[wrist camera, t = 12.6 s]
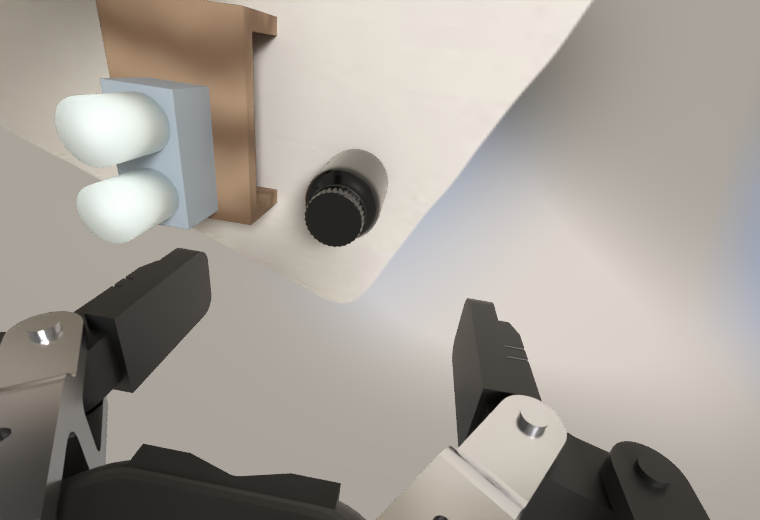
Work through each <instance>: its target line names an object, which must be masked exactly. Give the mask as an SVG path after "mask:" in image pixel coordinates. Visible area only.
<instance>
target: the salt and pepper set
mask: <svg viewBox="0 0 760 520" xmlns="http://www.w3.org/2000/svg"><path fill="white" fill-rule="evenodd" d="M100 83H101V88H102V94H89V95H76V96H69V97H66V98H64V99H63V100H62V101H61V102H60V103H59V104H58V106H57V108H56V112H55V125H56V129H57V132H58V135H59V137H60V139H61V141H62V143H63V144H64V146H65V147H66V148H67V149H68V151H69V152H70V153H71V154H72V155H73V156H75V157H76V158H77V159H78V160H80V161H81V162H83V163H85V164H87V165H89V166H92V167H97V168H105V167H109V166H112V165H116V164H117V168H118V173H119V175H118V176H115V177H112V178H109V179H106V180H103V181H100V182H98V183H95V184H92V185H89V186H86V187H85V188H83V189H82V190H81V191H80V193H79V194H78V197H77V209H78V213H79V216H80V218H81V219H82V221H83V223H84V224H85V226H86V227H87V228H88V229H89V230H90V231H91V232H92V233H93V234H95V235H96V236H97V237H99V238H101V239H103V240H105V241H107V242H110V243H116V244H117V243H118V244H120V243H125V242H128V241H130V240H132V239H133V238H135V237H137V236H138V235H140V234H142V233H144V232H145V231H147V230H149V229H151V228H153V227H154V226H156V225H158V224H159V225H165V226H170V227H176V228H182V229H188V230H189V229H191V228H192V227H194V226H195V225H197V224H198V223H200V222H201V221H203V220H204V219H206V218H207V217H209V216H210V215H212V214H213V213H215V212H216V211H218V199H217V186H216V173H215V160H214V148H213V135H212V122H211V109H210V96H209V86H202V85H195V84H189V83H182V82H175V81H169V80H162V79H155V78H149V77H133V78H100Z"/></svg>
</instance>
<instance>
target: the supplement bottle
mask: <svg viewBox="0 0 760 520" xmlns="http://www.w3.org/2000/svg"><path fill="white" fill-rule="evenodd" d="M387 187H388V178H387V173H386V170H385V168H384V166H383V164H382V163H381V162H380V161H379V159H378V158H376V157H375V156H374V155H372V154H371V153H369V152H367V151H364V150H359V149H351V150H346V151H343V152H341V153H339V154H338V155H336V156H335V157H334V158H333V159H332V160H331V161H330V162H329V163H328V164H327V165H326V166H325V167H324V168H323V169H322V170H321V171H320V172H319V173H318V174H317V175H316V176H315V177H314V178H313V180H312V181H311V183H310V184H309V186H308V188H307V191H306V196H305V206H306V212H305V216H306V217H305V221H306V225H307V227H308V230H309V231H310V233H311V235H313V236H314V238H315V239H317V240H318V241H319V242H322V243H323V244H325V245H328V246H333V247H336V246H339V247H341V246H342V245H343V246H345V245H347V244H350V243H351V242H352V241H354V240H355V239H357V238H359V237H362V236H363V235H365V234H366V233H368V232H369V231H370V230H371V229H372V228H373V227H374V225H375V224H376V222H377V220H378V217H379V215H380V211H381V208H382V205H383V202H384V199H385V195H386V192H387Z"/></svg>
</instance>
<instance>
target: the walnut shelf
mask: <svg viewBox="0 0 760 520" xmlns="http://www.w3.org/2000/svg"><path fill="white" fill-rule="evenodd" d="M96 4H97V10H98V15H99V20H100V26H101V31H102V36H103V42H104V47H105V52H106V58H107V63H108V68H109V74H110V78H133V77H149V78H155V79H162V80H169V81H175V82H182V83H189V84H195V85H202V86H209V96H210V109H211V122H212V135H213V148H214V160H215V173H216V186H217V199H218V211H216V212H215V213H213V214H212V215H210V216H209V217H207V218H212V219H218V220H224V221H230V222H236V223H242V224H248V225H252V224H253V223H254V222H255V221H256V220H257V219H259V218H260V217H261V216H262V215H263V214H264V213H265V212H267V211H268V210H269V209H270V208H271V207H272V206H274V205H275V204H276V203H277V190H275V189H269V188H263V187H257V186H256V154H255V118H254V83H253V48H252V32H253V33H260V34H268V35H275V36H277V17H275V16H272V15H269V14H266V13H263V12H260V11H257V10H254V9H251V8H248V7H245V6H241V5H233V4H226V3H219V2H211V1H204V0H96Z"/></svg>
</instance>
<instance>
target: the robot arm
mask: <svg viewBox="0 0 760 520" xmlns="http://www.w3.org/2000/svg"><path fill="white" fill-rule="evenodd" d="M210 302H211V288H210V278H209V267H208V259H207V256H206V254H205V253H204V252H200V251H194V250H188V249H182V248H177V249H175V250H174V251H172V252H171V253H169V254H168V255H166V256H165V257H164V258H162V259H161V260H159V261H155V262H153V263H150V264H148V265H145V266H142V267H139V268H138V269H137V270H135V271H134V272H132V273H131V274H129V275H128V276H126V279H122V280H120V281H119V282H117V283H116V284H115V286H114V287H113V286H111V287H110V288H109V289H107V290H106V291H104V292H103V293H101V294H100V295H98V296H97V297H96V298H94V299H93V300H91V301H89V302H88V303H87V304H85V305H84V306H82V307H81V308H79V309H78V310H76V311H75V312H66V311H59V312H49V313H44V314H40V315H36V316H33V317H30V318H28V319H26V320H23V321H21V322H19V323H17V324H16V325H15V326H13V327H12V328H10V329H9V330H8V331H7V332H0V520H365V519H364V518H363V517H362V516H361V515H360V514H359V513H358V512H356V511H355V510H353V509H352V508H351V507H349V506H348V505H346V504H344V503H342V502H340V501H339V493H340V485H341V484H340V483H336V482H331V481H326V480H321V479H316V478H311V477H306V476H301V475H296V474H273V475H255V476H233V475H230V474H228V473H226V472H224V471H223V470H221V469H219V468H217V467H215V466H213V465H211V464H210V463H208V462H206V461H204V460H202V459H200V458H198V457H196V456H195V455H193V454H191V453H187V452H182V451H176V450H172V449H166V448H161V447H157V446H152V445H147V444H143V445H142V446H141V447H140V448H139V450H138V451H137V452H136V454H135V455H134V456H133V457H132V459H131V460H128V461H121V462H115V463H111V464H106V441H107V440H106V439H107V416H108V402H107V398H106V395H107V394H108V393H109V392H110V391H111V390H112V389H115V390H120V391H125V392H131V393H133V392H134V391H135V390H136V389H137V388H138V387H139V386H140V385H141V384H142V382H143V381H144V380H145V379H146V378H147V377H148V376H149V375H150V374H151V372H153V370H154V369H155V368H156V367H157V366H158V365H159V364H160V363H161V362H162V361H163V360H164V358H166V356H167V355H168V354H169V353H170V352H171V351H172V350H173V349H174V348H175V347H176V346H177V344H178V343H179V342H180V341H181V340H182V339H183V338H184V337H185V336H186V335H187V334H188V333H189V332H190V330H191V329H192V328H193V327H194V326H195V325H196V324H197V323H198V322H199V321H200V319H201V318H202V317H203V316H204V315H205V314H206V312H207V311H208V309H209V306H210ZM527 360H528V358H527V356H526V352H525V351H524V346H523V343H522V340H521V337H520V335H519V334H518V332H517V331H516V330H515V329H514V328H513V327H512V326H511V324H510V323H508V322H503V321H498V319H497V315H496V311H495V307H494V304H493V303H492V302H486V301H481V300H475V299H468V298H467V300H466V301H465V304H464V308H463V311H462V315H461V319H460V322H459V326H458V329H457V333H456V337H455V340H454V346H453V356H452V362H453V376H454V391H455V404H456V419H457V433H458V446H459V447H458V448H457V449H456V450H455V449H454V448H453V447H451V446H450V447H447V448H446V449H444V450H443V451H442V452H441V453H440V454H439V455H438V456H437V457H436V458H435V459H434V460H433V461H432V462H431V463H430V464H429V465H428V466H427V467H426V468H425V469H424V470H423V471H422V472H421V474H420V475H419V476H418V477H417V478H416V479H415V480H414V481H413V482H412V483H411V484H410V485H409V486H408V487H407V488H406V489H405V490H404V491H403V492H402V493H401V494H400V495H399V496H398V497H397V498H396V499H395V500H394V501H393V502H392V503H391V504H390V505H389V506H388V507H387V509H385V510H384V511H383V513H382V514H381V515H380V516H379V517H378V518H377V519H376V520H710V519H709V517H708V515H707V514H706V512H705V510H704V508H703V506H702V505H701V503H700V501H699V499H698V498H697V496H696V494H695V492H694V490H693V489H692V487H691V485H690V483H689V482H688V480H687V479H686V477H685V476H684V475H683V473H682V472H681V471H680V470H679V469H678V468H677V467H676V466H675V465H674V464H673V463H672V462H671V461H670V460H668V459H667V458H666V457H664V456H663V455H661V454H660V453H659V452H657V451H655V450H653V449H651V448H649V447H647V446H645V445H642V444H639V443H636V442H630V441H624V442H620V443H617V444H616V445H615V446H613V448H612V450H611V451H610V453H609V452H607V451H604V450H602V449H600V448H598V447H595V446H593V445H591V444H589V443H586V442H584V441H582V440H580V439H578V438H576V437H574V436H572V435H570V434H569V433H567V431H566V428H565V425H564V423H563V421H562V420H561V418H560V417H559V416H558V414H557V413H556V412H555V411H554V410H553V409H551V408H550V407H549V406H548V405H546V404H545V403H543V402H542V401H541V398H540V395H539V392H538V389H537V386H536V383H535V380H534V377H533V374H532V371H531V368H530V365H529V362H527Z"/></svg>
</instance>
